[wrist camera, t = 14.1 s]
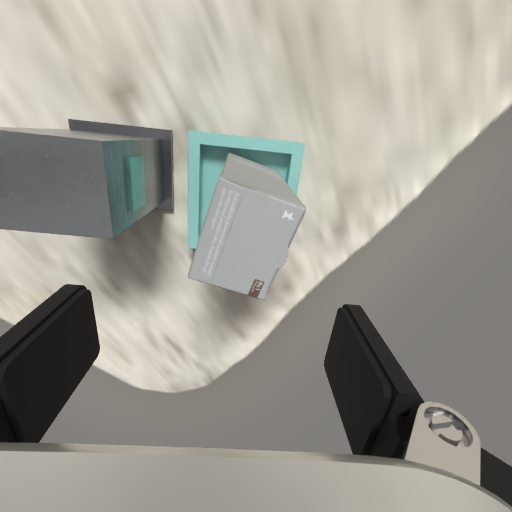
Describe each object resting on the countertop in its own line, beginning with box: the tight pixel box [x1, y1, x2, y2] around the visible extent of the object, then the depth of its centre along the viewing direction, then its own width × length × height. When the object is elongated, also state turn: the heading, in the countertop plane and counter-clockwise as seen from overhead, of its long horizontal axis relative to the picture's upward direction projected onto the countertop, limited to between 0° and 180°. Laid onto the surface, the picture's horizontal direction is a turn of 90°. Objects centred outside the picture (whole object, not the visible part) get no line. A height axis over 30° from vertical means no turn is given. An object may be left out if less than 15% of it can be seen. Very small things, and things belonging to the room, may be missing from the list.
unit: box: [0, 119, 174, 239], centre depth 26 cm, size 11×9×14 cm
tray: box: [188, 131, 305, 249], centre depth 33 cm, size 12×13×2 cm
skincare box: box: [188, 152, 306, 300], centre depth 26 cm, size 8×7×16 cm
